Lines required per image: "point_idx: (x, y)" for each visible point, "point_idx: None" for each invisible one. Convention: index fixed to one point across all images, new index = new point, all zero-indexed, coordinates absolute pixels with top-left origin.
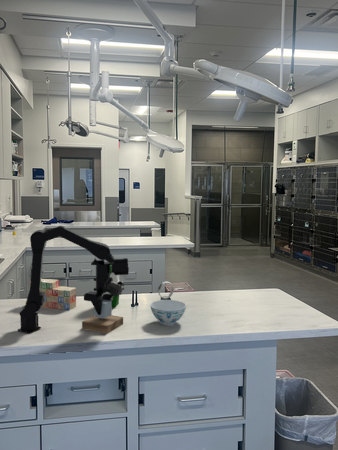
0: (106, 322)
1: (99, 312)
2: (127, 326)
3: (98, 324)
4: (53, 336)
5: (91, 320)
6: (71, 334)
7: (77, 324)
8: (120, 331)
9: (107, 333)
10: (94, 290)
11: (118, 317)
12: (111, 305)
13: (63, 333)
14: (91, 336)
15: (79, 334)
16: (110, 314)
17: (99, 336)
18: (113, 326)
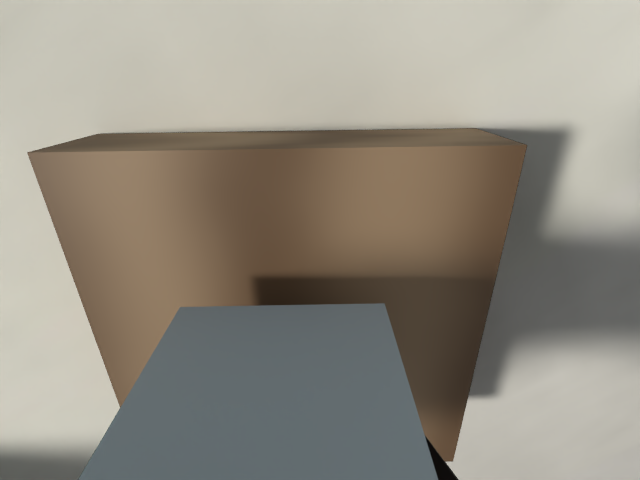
0: (381, 246)
1: (430, 453)
2: (124, 26)
3: (491, 292)
4: (633, 458)
5: None
6: (572, 394)
7: None
8: (342, 9)
9: (475, 130)
10: None
11: (97, 212)
12: (83, 478)
13: (562, 442)
14: (593, 238)
15: (560, 349)
16: (207, 317)
17: (580, 164)
18: (342, 138)
